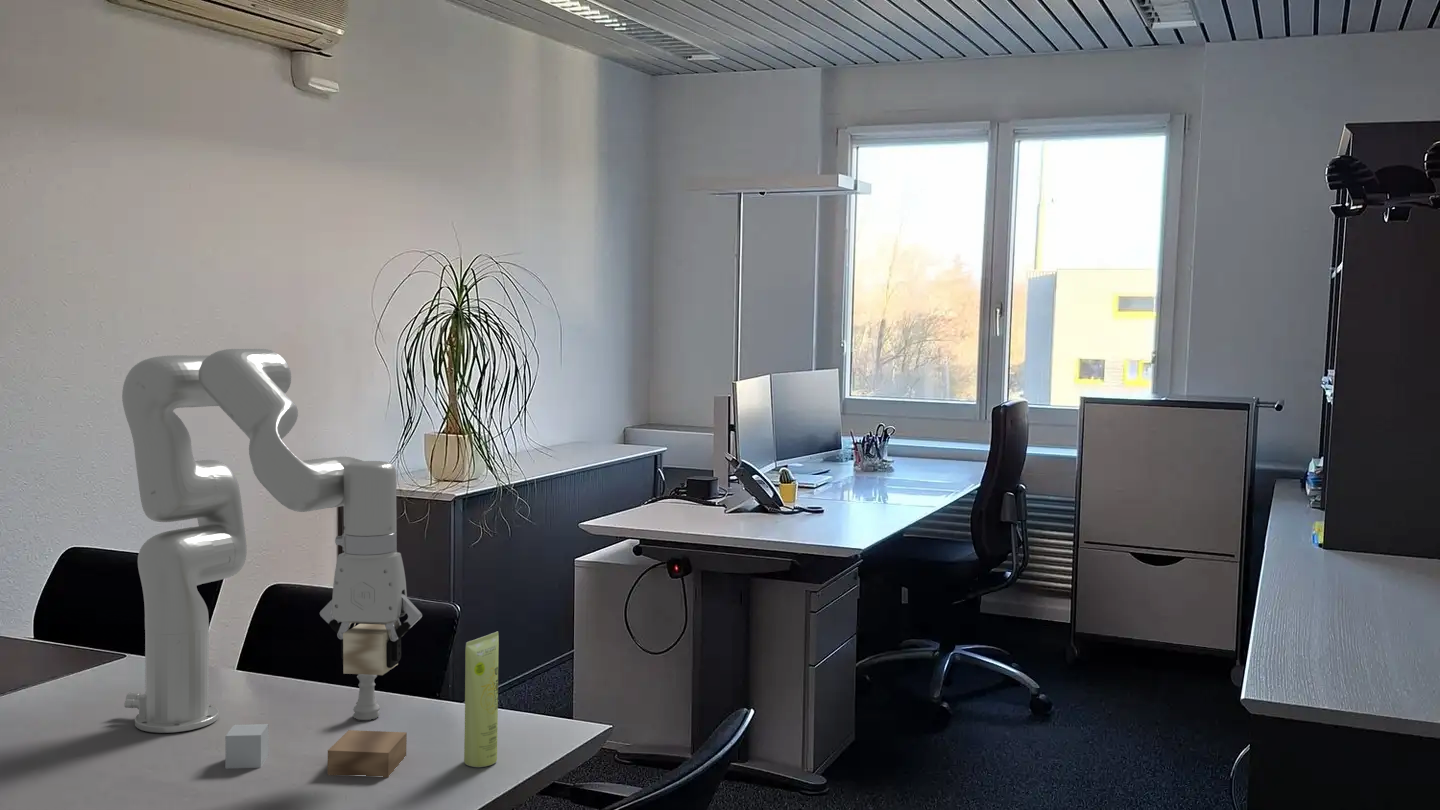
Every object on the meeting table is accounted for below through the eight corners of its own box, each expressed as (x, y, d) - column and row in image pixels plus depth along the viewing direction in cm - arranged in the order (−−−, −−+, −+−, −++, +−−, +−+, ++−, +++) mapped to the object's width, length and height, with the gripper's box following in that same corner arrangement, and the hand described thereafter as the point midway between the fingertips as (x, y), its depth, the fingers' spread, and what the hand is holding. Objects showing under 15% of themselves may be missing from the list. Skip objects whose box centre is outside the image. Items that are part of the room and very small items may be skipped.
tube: (498, 768, 180) (500, 640, 179) (463, 770, 179) (465, 641, 178) (496, 755, 186) (498, 631, 185) (463, 757, 185) (464, 632, 184)
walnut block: (327, 777, 176) (327, 750, 176) (348, 755, 185) (348, 730, 185) (388, 779, 176) (388, 752, 176) (406, 757, 185) (406, 732, 185)
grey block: (225, 769, 178) (225, 735, 177) (233, 757, 182) (234, 724, 182) (260, 768, 178) (260, 735, 178) (268, 756, 183) (268, 724, 183)
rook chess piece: (372, 722, 200) (372, 675, 199) (347, 720, 200) (348, 672, 200) (385, 714, 204) (385, 667, 203) (360, 711, 205) (361, 665, 204)
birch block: (343, 673, 177) (343, 633, 176) (360, 662, 183) (359, 623, 182) (382, 675, 176) (382, 634, 176) (398, 664, 182) (397, 625, 182)
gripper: (303, 547, 176) (304, 669, 176) (417, 550, 174) (417, 673, 175) (325, 539, 183) (326, 655, 184) (435, 542, 181) (435, 660, 182)
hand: (371, 663), depth 179 cm, fingers closed on birch block, 6 cm apart
